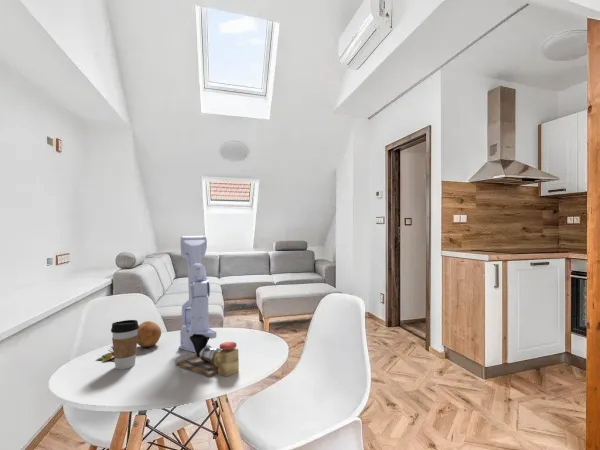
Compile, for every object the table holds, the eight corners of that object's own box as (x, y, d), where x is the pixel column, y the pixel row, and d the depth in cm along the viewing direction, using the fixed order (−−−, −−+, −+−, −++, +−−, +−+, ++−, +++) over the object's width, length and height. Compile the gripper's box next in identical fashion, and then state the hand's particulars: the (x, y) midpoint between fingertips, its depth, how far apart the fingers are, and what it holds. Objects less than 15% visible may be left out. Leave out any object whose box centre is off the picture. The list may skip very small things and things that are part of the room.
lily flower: (87, 363, 112) (87, 350, 113) (114, 351, 124) (114, 339, 124) (116, 365, 110) (116, 352, 110) (140, 353, 121) (140, 341, 122)
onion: (167, 343, 130) (166, 319, 130) (146, 352, 121) (146, 325, 121) (149, 341, 134) (149, 317, 134) (128, 349, 125) (128, 323, 125)
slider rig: (176, 365, 107) (176, 339, 108) (203, 354, 117) (202, 330, 117) (220, 381, 95) (220, 351, 95) (246, 367, 104) (246, 341, 104)
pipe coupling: (197, 360, 106) (202, 344, 108) (208, 361, 110) (212, 346, 111) (209, 363, 102) (213, 347, 104) (220, 365, 106) (224, 349, 108)
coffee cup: (104, 369, 106) (104, 323, 106) (126, 359, 114) (126, 317, 114) (123, 372, 103) (123, 325, 103) (144, 362, 111) (144, 319, 111)
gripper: (176, 316, 110) (177, 355, 110) (203, 321, 102) (204, 364, 101) (194, 311, 116) (194, 349, 115) (221, 316, 108) (221, 357, 107)
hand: (200, 356), depth 109 cm, fingers closed
